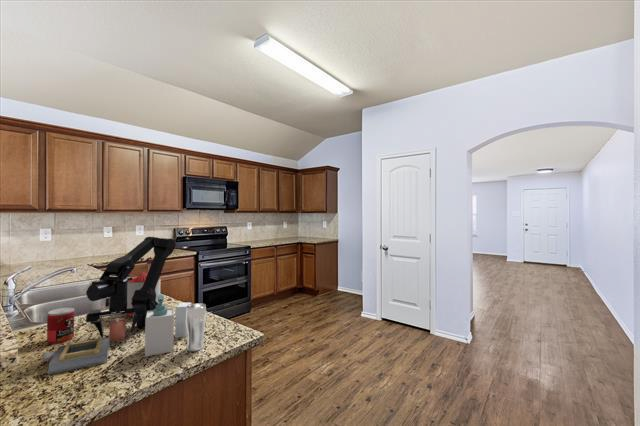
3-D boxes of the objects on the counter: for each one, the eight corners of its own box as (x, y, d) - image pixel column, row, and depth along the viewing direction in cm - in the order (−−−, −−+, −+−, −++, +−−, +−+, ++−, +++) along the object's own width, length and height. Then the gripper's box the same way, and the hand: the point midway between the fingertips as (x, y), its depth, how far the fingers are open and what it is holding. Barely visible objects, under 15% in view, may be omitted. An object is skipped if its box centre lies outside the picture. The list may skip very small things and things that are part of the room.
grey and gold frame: (109, 346, 106) (110, 334, 106) (107, 362, 94) (107, 349, 94) (46, 357, 96) (46, 345, 96) (34, 377, 85) (35, 363, 85)
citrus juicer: (115, 313, 140) (116, 272, 141) (155, 306, 152) (156, 268, 152) (121, 322, 129) (122, 277, 129) (164, 314, 141) (165, 272, 141)
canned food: (58, 345, 106) (58, 314, 106) (40, 342, 107) (41, 312, 108) (79, 336, 113) (80, 308, 113) (62, 334, 115) (63, 306, 115)
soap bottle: (144, 357, 98) (145, 300, 98) (146, 346, 105) (147, 293, 106) (173, 352, 102) (174, 297, 102) (172, 342, 109) (174, 291, 110)
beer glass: (209, 345, 107) (210, 304, 108) (196, 353, 101) (196, 309, 101) (194, 342, 110) (195, 302, 110) (180, 350, 103) (181, 307, 103)
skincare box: (180, 331, 120) (181, 302, 120) (191, 331, 120) (191, 302, 120) (174, 337, 114) (175, 306, 114) (185, 337, 114) (186, 306, 114)
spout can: (125, 335, 115) (125, 313, 115) (124, 339, 111) (125, 317, 111) (109, 338, 112) (110, 315, 113) (108, 342, 108) (109, 319, 108)
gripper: (145, 286, 124) (144, 323, 124) (90, 292, 114) (89, 332, 113) (146, 292, 114) (146, 332, 114) (86, 299, 104) (85, 343, 104)
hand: (117, 334), depth 112 cm, fingers open, 9 cm apart
